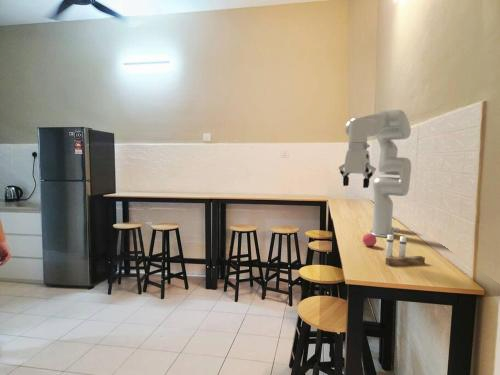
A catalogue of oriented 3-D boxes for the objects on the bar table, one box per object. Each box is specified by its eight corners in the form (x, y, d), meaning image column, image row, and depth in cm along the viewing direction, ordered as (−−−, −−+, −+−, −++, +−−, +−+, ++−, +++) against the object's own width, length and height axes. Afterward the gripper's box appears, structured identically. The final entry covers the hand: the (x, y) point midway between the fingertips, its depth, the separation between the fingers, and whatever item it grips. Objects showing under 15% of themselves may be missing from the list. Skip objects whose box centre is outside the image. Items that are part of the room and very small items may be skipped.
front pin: (389, 254, 136) (391, 234, 135) (393, 256, 133) (395, 235, 132) (384, 255, 135) (385, 234, 134) (388, 257, 133) (389, 236, 132)
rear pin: (402, 257, 133) (403, 236, 132) (406, 259, 130) (408, 237, 129) (397, 257, 132) (398, 236, 131) (401, 259, 130) (402, 238, 129)
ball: (371, 244, 152) (372, 232, 152) (378, 247, 146) (379, 235, 146) (360, 244, 151) (360, 232, 150) (367, 248, 145) (367, 235, 145)
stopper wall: (420, 262, 127) (421, 256, 127) (424, 263, 125) (424, 257, 125) (385, 263, 124) (385, 257, 123) (388, 265, 122) (389, 259, 121)
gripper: (381, 147, 131) (378, 188, 133) (345, 147, 145) (343, 184, 146) (371, 146, 127) (369, 188, 128) (335, 147, 140) (333, 185, 141)
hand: (355, 186), depth 137 cm, fingers open, 9 cm apart
